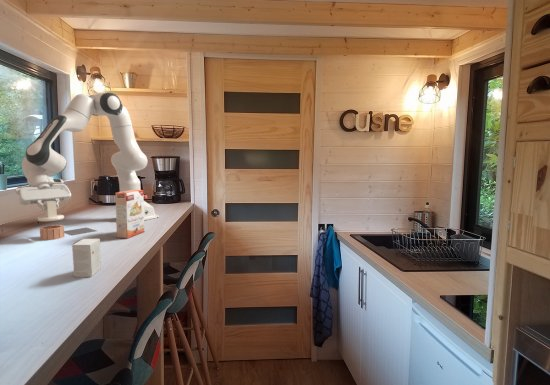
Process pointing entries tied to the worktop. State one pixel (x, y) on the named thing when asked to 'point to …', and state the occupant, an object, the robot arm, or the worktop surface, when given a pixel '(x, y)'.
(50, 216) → the lid
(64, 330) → the worktop surface
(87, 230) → the rubber mat
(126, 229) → the cracker box
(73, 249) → the small box
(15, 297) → the worktop surface
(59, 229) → the bowl
